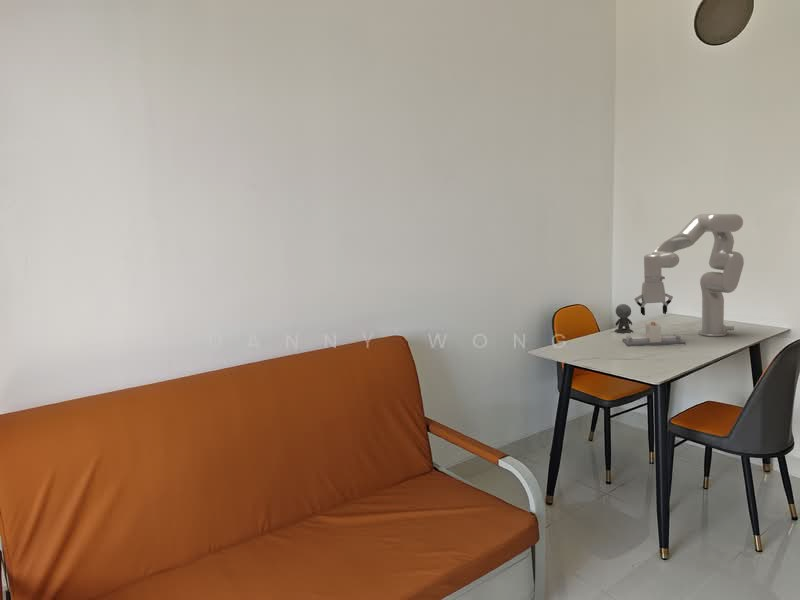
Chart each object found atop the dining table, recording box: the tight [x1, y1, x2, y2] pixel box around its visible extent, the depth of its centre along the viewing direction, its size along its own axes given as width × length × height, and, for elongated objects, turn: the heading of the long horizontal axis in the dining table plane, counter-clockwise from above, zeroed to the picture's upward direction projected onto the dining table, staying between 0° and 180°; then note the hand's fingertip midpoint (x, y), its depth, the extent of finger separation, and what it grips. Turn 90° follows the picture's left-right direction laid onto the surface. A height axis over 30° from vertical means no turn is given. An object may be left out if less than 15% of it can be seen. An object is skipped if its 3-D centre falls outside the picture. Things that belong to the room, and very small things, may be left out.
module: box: [645, 321, 662, 342], centre depth 270 cm, size 5×8×9 cm, turn 170°
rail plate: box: [622, 333, 686, 347], centre depth 270 cm, size 26×11×3 cm, turn 80°
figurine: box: [614, 303, 634, 334], centre depth 297 cm, size 9×10×15 cm
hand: (653, 314), depth 269 cm, fingers open, 9 cm apart
